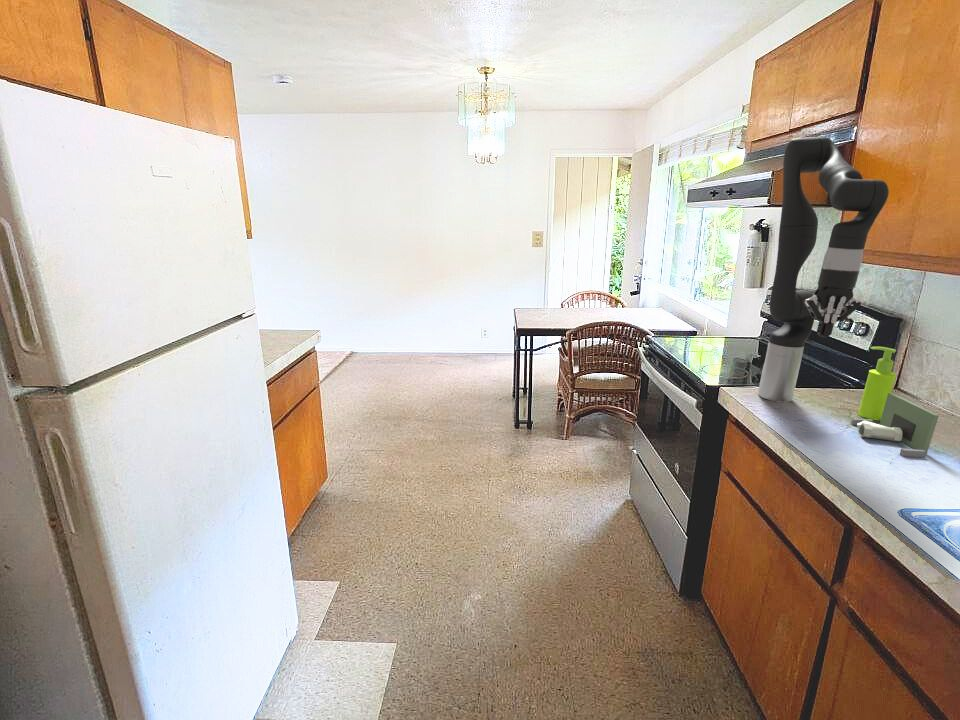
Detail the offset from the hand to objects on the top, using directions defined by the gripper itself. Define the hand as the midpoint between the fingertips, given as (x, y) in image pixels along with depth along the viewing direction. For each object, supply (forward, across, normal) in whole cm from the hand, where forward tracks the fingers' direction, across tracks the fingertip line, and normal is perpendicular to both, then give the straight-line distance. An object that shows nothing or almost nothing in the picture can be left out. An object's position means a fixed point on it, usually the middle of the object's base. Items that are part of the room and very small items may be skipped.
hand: (822, 336), depth 124 cm
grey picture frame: (+25, -19, +6) cm, 32 cm away
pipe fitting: (+25, -17, +4) cm, 31 cm away
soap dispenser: (+25, -25, -10) cm, 37 cm away
